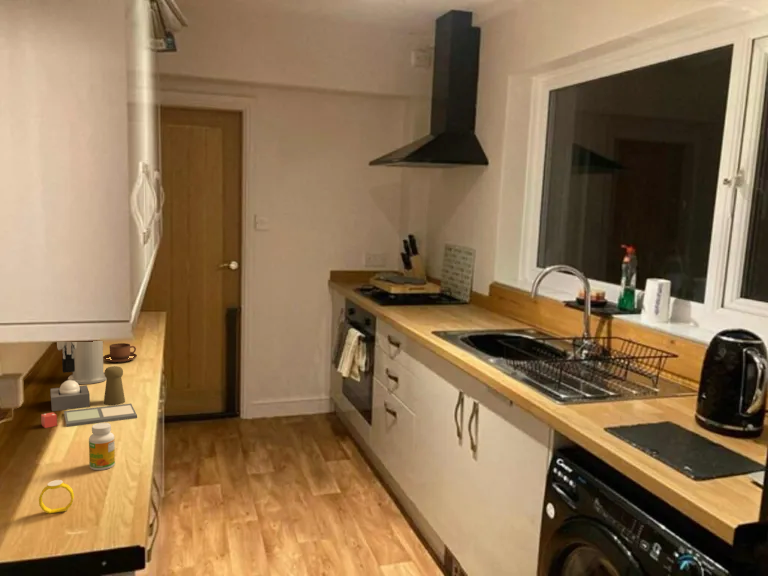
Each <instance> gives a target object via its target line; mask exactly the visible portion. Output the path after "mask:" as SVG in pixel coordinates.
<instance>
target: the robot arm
mask: <svg viewBox="0 0 768 576" xmlns="http://www.w3.org/2000/svg"><path fill="white" fill-rule="evenodd" d="M103 342H104V341H93V342H57V341H56V347H57V348H56V349H57V350H58V351H59V352H60V351H61V350H62V358H61V361H62V362H61V364H62V365H61V366H62V369H61V370H62V373H63V374H65V373H66V374H67V373H72V374H71V375H69V376H68V378H67V381H68V380H73V381H75V382H77V383H78V384H79V385H88V384H89V385H91V384H97V383H98V384H99V383H101V382H105V381H106V379H107V378H106V377H105V374H104V372H105V371H104V359H103V356H104V346H103V345H104V344H103Z"/></svg>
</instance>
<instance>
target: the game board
mask: <svg viewBox="0 0 768 576" xmlns="http://www.w3.org/2000/svg"><path fill="white" fill-rule="evenodd" d="M133 406H134V405H133V404H132V403H122V404H119V405H105V406H98V407H97V406H96V407H86V408H77V409H69V410H63V414H64V420H65V421H64V422H65V426H66V427H67V428H68V427H74V426H77V427H78V426H84V425H90V424H92V425H94V424H98V423H108V422H115V421H125V420H129V419H131V420H132V419H138V415H137V413H136V410H135V408H134V407H133Z"/></svg>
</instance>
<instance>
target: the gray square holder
mask: <svg viewBox="0 0 768 576" xmlns="http://www.w3.org/2000/svg"><path fill="white" fill-rule="evenodd" d="M79 387H80V393H74V394H65V395H60V387H55V388H50V406H51V411H52V412H56V411H67V410H76V409H85V408H91V404H90V403H91V402H90V394H91V393H90V391H89V388H88V384H83V385H79Z"/></svg>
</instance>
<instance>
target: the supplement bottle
mask: <svg viewBox="0 0 768 576" xmlns="http://www.w3.org/2000/svg"><path fill="white" fill-rule="evenodd" d="M111 425H112V424H111V423H108V422H101V423H94V424H92V426H91V433H92V434H90V436H89V438H88V451H89V452H88V455H89V456H88V457H89V459H88V460H89V461H88V462H89V468H90V469H91V470H94V471H105V470H108V469H112V468H113V467H114V466H115V464H116V458H115V457H116V454H115V453H116V451H115V448H116V447H115V445H116V443H115V434H114V433H112V426H111Z"/></svg>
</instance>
